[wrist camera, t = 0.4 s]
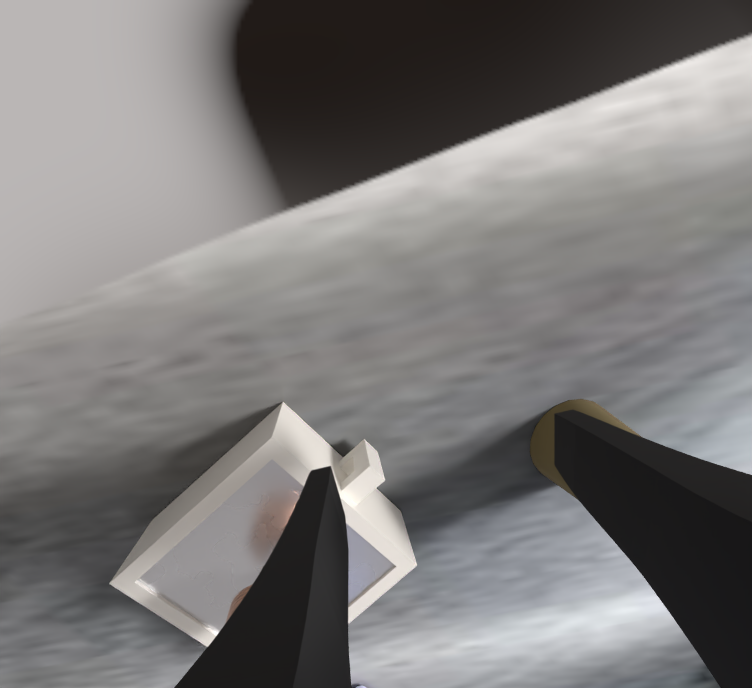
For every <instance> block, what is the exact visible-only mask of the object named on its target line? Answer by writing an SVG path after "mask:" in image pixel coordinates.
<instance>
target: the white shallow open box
mask: <svg viewBox="0 0 752 688" xmlns="http://www.w3.org/2000/svg"><path fill="white" fill-rule="evenodd" d="M270 460H274V461H275V462H276V463H277V464H278V465H279V466H281V467H282V468H283V469H284V470H285V471H286V472H288V473H289V474H290V475H291V476H292V477H293V478H294V479H296V480H297V481H298V482H299V483H300V484H301V485H303V486H304V485H305V482H306V480H307V477H308V475H309V473H310V472H311V470H315V469H319V468H323V467H328V466H331V468H332V471H333V475H334V478H335V482H336V485H337V489H338V492H339V495H340V499H341V502H342V506H343V509H344V513H345V518H346V523H347V524H348V525H349V526H350V527H351V528H352V529H354V530H355V531H356V532H357V533H358V534H359V535H361V536H362V537H363V538H364V539H365V540H366V541H367V542H369V543H370V544H371V545H372V546H373V547H374V548H376V549H377V550H378V551H379V552H380V553H381V554H383V555H384V556H385V557H386V558H387V559H388V560H390V561H391V562H392V563H393V564H394V565H395V566H394V567H392V568H391V569H390V570H389V571H388V572H387V573H385V574H384V575H383V576H382V577H381V578H380V579H378V580H377V581H376V582H375V583H374V584H373V585H371V586H370V587H369V588H368V589H367V590H366V591H364V592H363V593H362V594H361V595H360V596H359V597H357V598H356V599H355V600H354V601H353V602H352V603H350V604H349V605H348V624H349V623H350V622H351V621H352V620H354V619H355V618H356V617H357V616H358V615H359V614H361V613H362V612H363V611H364V610H365V609H366V608H368V607H369V606H370V605H371V604H372V603H374V602H375V601H376V600H377V599H378V598H379V597H381V596H382V595H383V594H384V593H385V592H386V591H388V590H389V589H390V588H391V587H392V586H393V585H395V584H396V583H397V582H398V581H399V580H401V579H402V578H403V577H404V576H405V575H406V574H408V573H409V572H410V571H411V570H412V569H413V568H415V567H416V566H417V564H416V560H415V557H414V553H413V550H412V547H411V543H410V540H409V537H408V533H407V530H406V527H405V523H404V520H403V517H402V513H401V511H400V510H399V509H398V508H397V507H396V506H395V505H394V504H393V503H392V502H391V501H389V500H388V499H387V498H386V497H385V496H384V495H383V494H382V493H381V492H380V491H379V490H378V489H377V487H378V486H379V485H380V484H381V483H382V482H384V481H385V478H384V474H383V470H382V467H381V463H380V459H379V455H378V452H377V451H376V450H375V449H374V448H373V447H372V446H371V445H370V444H369V443H368V442H367V441H366V440H365V439H364V440H363V441H362V442H360V443H359V444H358V445H357V446H356V447H355V448H354V449H353V450H351V451H350V452H349V453H348V454H347V455H346V456H345V457H342V456H341V455H340V454H339V453H338V452H337V451H336V450H334V449H333V448H332V447H331V446H330V445H329V444H328V443H327V442H326V441H325V440H324V439H323V438H322V437H320V436H319V435H318V434H317V433H316V432H315V431H314V430H313V429H312V428H311V427H310V426H309V425H308V424H306V423H305V422H304V421H303V420H302V419H301V418H300V417H299V416H298V415H297V414H296V413H295V412H294V411H292V410H291V409H290V408H289V407H288V406H287V405H286V404H285V403H284V402H282V403H281V404H280V405H279V406H278V407H277V408H276V409H275V410H273V411H272V412H271V413H270V414H269V415H268V416H267V417H266V418H265V419H263V420H262V421H261V422H260V423H259V424H258V425H257V426H256V427H255V428H254V429H252V430H251V431H250V432H249V433H248V434H247V435H246V436H245V437H244V438H242V439H241V440H240V441H239V442H238V443H237V444H236V445H235V446H234V447H232V448H231V449H230V450H229V451H228V452H227V453H226V454H225V455H224V456H223V457H221V458H220V459H219V460H218V461H217V462H216V463H215V464H214V465H213V466H211V467H210V468H209V469H208V470H207V471H206V472H205V473H204V474H203V475H202V476H200V477H199V478H198V479H197V480H196V481H195V482H194V483H193V484H192V485H190V486H189V487H188V488H187V489H186V490H185V491H184V492H183V493H182V494H181V495H179V496H178V497H177V498H176V499H175V500H174V501H173V502H172V503H171V504H169V505H168V506H167V507H166V508H165V509H164V510H163V511H162V512H161V513H160V514H158V515H157V516H156V517H155V518H154V519H153V520H152V521H151V523H150V524H149V525H148V527H147V528H146V530H145V531H144V533H143V534H142V536H141V537H140V539H139V540H138V542H137V543H136V545H135V546H134V548H133V549H132V551H131V552H130V554H129V555H128V557H127V558H126V559H125V561H124V562H123V564H122V565H121V567H120V568H119V570H118V571H117V573H116V574H115V576H114V577H113V579H112V580H111V582H110V583H109V584H110V585H112V586H113V587H115V588H116V589H118V590H120V591H121V592H123V593H124V594H126V595H127V596H129V597H130V598H132V599H134V600H135V601H137V602H138V603H140V604H141V605H143V606H145V607H146V608H148V609H149V610H151V611H152V612H154V613H155V614H157V615H159V616H160V617H162V618H163V619H165V620H166V621H168V622H169V623H171V624H173V625H174V626H176V627H177V628H179V629H180V630H182V631H183V632H185V633H187V634H188V635H190V636H191V637H193V638H194V639H196V640H197V641H199V642H201V643H202V644H204V645H205V646H207V647H208V646H209V645H210V644H211V642H212V641H213V640H214V638H215V637H216V636H217V634H218V633H216V632H215V631H213V630H212V629H210V628H209V627H207V626H206V625H204V624H203V623H201V622H200V621H198V620H197V619H195V618H193V617H192V616H190V615H189V614H187V613H186V612H184V611H183V610H181V609H180V608H178V607H177V606H175V605H174V604H172V603H171V602H169V601H168V600H166V599H165V598H163V597H162V596H160V595H159V594H157V593H156V592H154V591H153V590H151V589H150V588H148V587H147V586H145V585H144V584H142V583H140V582H139V581H137V580H138V579H139V578H140V577H141V576H142V575H143V574H144V573H145V572H147V571H148V570H149V569H150V568H151V567H152V566H153V565H154V564H155V563H157V562H158V561H159V560H160V559H161V558H162V557H163V556H164V555H166V554H167V553H168V552H169V551H170V550H171V549H172V548H173V547H174V546H176V545H177V544H178V543H179V542H180V541H181V540H182V539H183V538H184V537H186V536H187V535H188V534H189V533H190V532H191V531H192V530H193V529H195V528H196V527H197V526H198V525H199V524H200V523H201V522H202V521H203V520H205V519H206V518H207V517H208V516H209V515H210V514H211V513H212V512H214V511H215V510H216V509H217V508H218V507H219V506H220V505H221V504H222V503H224V502H225V501H226V500H227V499H228V498H229V497H230V496H231V495H233V494H234V493H235V492H236V491H237V490H238V489H239V488H240V487H241V486H243V485H244V484H245V483H246V482H247V481H248V480H249V479H250V478H251V477H253V476H254V475H255V474H256V473H257V472H258V471H259V470H260V469H262V468H263V467H264V466H265V465H266V464H267V463H268V462H269V461H270Z"/></svg>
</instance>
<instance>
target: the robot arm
mask: <svg viewBox="0 0 752 688" xmlns="http://www.w3.org/2000/svg"><path fill="white" fill-rule="evenodd" d="M554 465H555V467H556V468H557V470H558V471H559V473H560V475H561V476H562V478H563V479H564V481H565V482H566V484H567V485H568V487H569V488H570V489H571V491H572V492H573V494H574V495H575V496H576V497H577V499H578V500H579V501H580V502H581V503H582V505H583V506H584V507H585V508H586V509H587V510H588V512H589V513H590V514H591V515H592V516H593V517H594V519H595V520H596V521H597V522H598V523H599V524H600V526H601V527H602V528H603V529H604V530H605V531H606V532H607V534H608V535H609V536H610V537H611V538H612V539H613V541H614V542H615V543H616V544H617V545H618V546H619V547H620V549H621V550H622V551H623V552H624V553H625V554H626V556H627V557H628V558H629V559H630V560H631V561H632V563H633V564H634V565H635V566H636V568H637V569H638V570H639V571H640V573H641V574H642V575H643V576H644V578H645V579H646V580H647V582H648V583H649V585H650V586H651V587H652V589H653V590H654V592H655V593H656V594H657V596H658V597H659V598H660V600H661V601H662V603H663V604H664V605H665V607H666V608H667V609H668V611H669V612H670V614H671V615H672V616H673V618H674V619H675V621H676V622H677V624H678V625H679V627H680V628H681V629H682V631H683V632H684V634H685V635H686V637H687V638H688V640H689V641H690V642H691V644H692V645H693V647H694V648H695V650H696V651H697V653H698V654H699V655H700V657H701V658H702V660H703V662H704V663H705V665H706V666H707V668H708V669H709V671H710V672H711V674H712V675H713V677H714V678H715V680H716V681H717V683H718V684H719V686H720V687H721V688H752V475H750V474H746V473H743V472H740V471H736V470H733V469H730V468H727V467H723V466H720V465H717V464H714V463H711V462H707V461H704V460H701V459H699V458H696V457H693V456H690V455H687V454H685V453H682V452H679V451H676V450H673V449H671V448H668V447H665V446H663V445H660V444H658V443H655V442H652V441H650V440H647V439H645V438H642V437H640V436H638V435H635V434H633V433H630V432H628V431H625V430H623V429H621V428H618V427H616V426H613V425H611V424H609V423H606V422H604V421H601V420H599V419H597V418H594V417H592V416H589V415H587V414H584V413H582V412H579V411H576V410H573V409H572V410H568V411H564V412H559V413H555V414H554ZM348 577H349V548H348V538H347V528H346V518H345V513H344V509H343V506H342V502H341V499H340V495H339V492H338V489H337V485H336V482H335V478H334V475H333V471H332V468H331V466H328V467H323V468H319V469H315V470H311V472H310V473H309V475H308V477H307V480H306V482H305V485H304V487H303V490H302V492H301V494H300V497H299V499H298V501H297V503H296V506H295V508H294V510H293V512H292V514H291V516H290V518H289V520H288V522H287V524H286V527H285V529H284V531H283V532H282V534H281V536H280V538H279V540H278V542H277V544H276V545H275V547H274V549H273V551H272V553H271V554H270V556H269V558H268V560H267V562H266V563H265V565H264V567H263V568H262V570H261V572H260V573H259V575H258V576H257V578H256V580H255V581H254V583H253V584H252V586H251V587H250V589H249V591H248V592H247V594H246V595H245V597H244V598H243V600H242V601H241V602H240V604H239V605H238V607H237V608H236V609H235V611H234V612H233V614H232V615H231V617H230V618H229V619H228V621H227V622H226V624H225V625H224V626H223V628H222V629H221V630H220V632H219V633H218V634H217V636H216V637H215V638H214V640H213V641H212V642H211V644H210V645H209V646H208V647H207V649H206V650H205V651H204V652H203V653H202V655H201V656H200V657H199V658H198V660H197V661H196V662H195V663H194V665H193V666H192V667H191V668H190V669H189V671H188V672H187V673H186V674H185V676H184V677H183V678H182V679H181V680H180V682H179V683H178V684H177V685H176V686H175V688H351V677H350V663H349V646H348ZM356 688H366V687H365V686H357V687H356Z"/></svg>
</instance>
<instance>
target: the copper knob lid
mask: <svg viewBox="0 0 752 688" xmlns="http://www.w3.org/2000/svg"><path fill="white" fill-rule="evenodd" d="M303 487H304V486H303V485H301V484H300V483H299V482H298V481H297V480H296V479H294V478H293V477H292V476H291V475H290V474H289V473H288V472H286V471H285V470H284V469H283V468H282V467H281V466H279V465H278V464H277V463H276V462H275V461H274V460H270V461H269V462H268V463H267V464H266V465H265V466H264V467H263V468H262V469H260V470H259V471H258V472H257V473H256V474H255V475H254V476H253V477H251V478H250V479H249V480H248V481H247V482H246V483H245V484H244V485H243V486H241V487H240V488H239V489H238V490H237V491H236V492H235V493H234V494H233V495H231V496H230V497H229V498H228V499H227V500H226V501H225V502H224V503H222V504H221V505H220V506H219V507H218V508H217V509H216V510H215V511H214V512H212V513H211V514H210V515H209V516H208V517H207V518H206V519H205V520H203V521H202V522H201V523H200V524H199V525H198V526H197V527H196V528H195V529H193V530H192V531H191V532H190V533H189V534H188V535H187V536H186V537H184V538H183V539H182V540H181V541H180V542H179V543H178V544H177V545H176V546H174V547H173V548H172V549H171V550H170V551H169V552H168V553H167V554H166V555H164V556H163V557H162V558H161V559H160V560H159V561H158V562H157V563H155V564H154V565H153V566H152V567H151V568H150V569H149V570H148V571H147V572H145V573H144V574H143V575H142V576H141V577H140V578H139V579H138V580H137V581H139V582H140V583H142V584H144V585H145V586H147V587H148V588H150V589H151V590H153V591H154V592H156V593H157V594H159V595H160V596H162V597H163V598H165V599H166V600H168V601H169V602H171V603H172V604H174V605H175V606H177V607H178V608H180V609H181V610H183V611H184V612H186V613H187V614H189V615H190V616H192V617H193V618H195V619H197V620H198V621H200V622H201V623H203V624H204V625H206V626H207V627H209V628H210V629H212V630H213V631H215V632H216V633H219V632H220V630H221V629H222V628H223V626H224V625H225V624H226V622H227V621H228V619H229V618H230V617H231V615H232V614H233V612H234V611H235V609H236V608H237V607H238V605H239V604H240V602H241V601H242V600H243V598H244V597H245V595H246V594H247V592H248V591H249V589H250V587H251V586H252V584H253V583H254V581H255V580H256V578H257V576H258V575H259V573H260V572H261V570H262V568H263V567H264V565H265V563H266V562H267V560H268V558H269V556H270V554H271V553H272V551H273V549H274V547H275V545H276V544H277V542H278V540H279V538H280V536H281V534H282V532H283V531H284V529H285V527H286V524H287V522H288V520H289V518H290V516H291V514H292V512H293V510H294V508H295V506H296V503H297V501H298V499H299V497H300V494H301V492H302V490H303ZM346 528H347V538H348V548H349V577H348V605H349V604H350V603H352V602H353V601H354V600H355V599H356V598H357V597H359V596H360V595H361V594H362V593H363V592H364V591H366V590H367V589H368V588H369V587H370V586H371V585H373V584H374V583H375V582H376V581H377V580H378V579H380V578H381V577H382V576H383V575H384V574H385V573H387V572H388V571H389V570H390V569H391V568H392V567H394V566H395V565H394V564H393V563H392V562H391V561H390V560H388V559H387V558H386V557H385V556H384V555H383V554H381V553H380V552H379V551H378V550H377V549H376V548H374V547H373V546H372V545H371V544H370V543H369V542H367V541H366V540H365V539H364V538H363V537H362V536H361V535H359V534H358V533H357V532H356V531H355V530H354V529H352V528H351V527H350V526H349V525H348V524H347V523H346Z"/></svg>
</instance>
